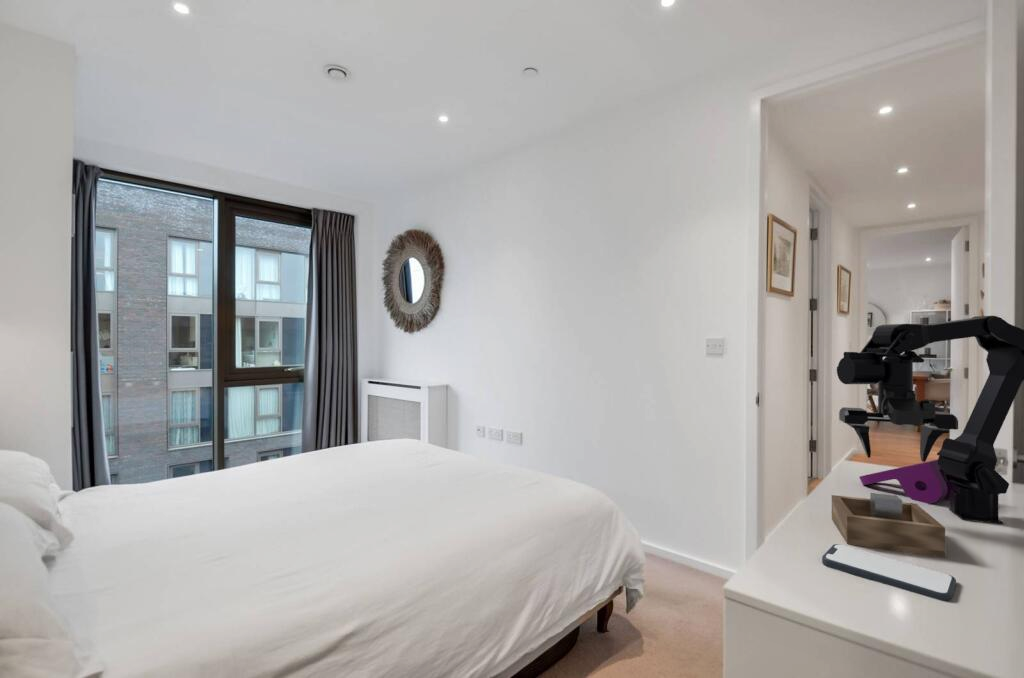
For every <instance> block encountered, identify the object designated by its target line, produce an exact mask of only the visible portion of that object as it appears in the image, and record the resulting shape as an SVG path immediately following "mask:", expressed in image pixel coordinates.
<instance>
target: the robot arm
mask: <svg viewBox="0 0 1024 678" xmlns="http://www.w3.org/2000/svg"><path fill="white" fill-rule="evenodd" d="M967 338H975V340H976V341H977V343H978V346H979V347H980V348H982V349H983V350H985V351H986V352H987V355H986V360H985V361H986V364H987V368H988V371H989V374H988V376H987V379H986V381H985V383H984V384H983V387H982V389H981V391H980V394H979V396H978V398H977V400H976V402H975V404H974V407H973V409H972V412H971V413H970V416H969V417H968V420H967V422H966V425H965V426H964V429H963V431H962V433H961V434H960V435H959V436H958V437H956V438H954V439H953V438H948V437H946V438H945V439H944V440H943V442H942V446H941V448H940V449H939V451H938V452H937V453H936V456H938V457H937V460H938V465H939V466H940V469H941V470H942V472H943V474H944V477H945V479H946V481H947V482H952V483H953V491H950V498H949V507H948V510H949V511H950V512H951V513H952V514H954V515H955V516H957V517H958V518H960V519H961V520H963V521H971V522H972V521H973V522H981V521H983V523H989V524H990V523H992V524H1002V525H1003V524H1004V521H1003V520H1002V519H1000V518H999V495H1003V494H1004V495H1005V494H1007V493H1008V492H1007V491H1008V489H1009V486H1010V483H1009V482H1008V481H1007V480H1006V479H1005V478H1004V477H1003V476H1002V475H1001V474H1000V473H999V472H998V471H996V467H997V463H998V458H997V454H996V451H995V447H994V444H995V442H996V441H997V438H998V436H999V433H1000V431H1001V429H1002V427H1003V424H1004V422H1005V420H1006V418H1007V416H1008V414H1009V412H1010V409H1011V407H1012V405H1013V403H1014V400H1015V399H1016V397H1017V394H1018V392H1019V389H1020V387H1021V386H1022V383H1023V382H1024V329H1022V328H1020V327H1017V326H1015V325H1013V324H1010V323H1009V322H1007V321H1006V320H1004V319H1003V318H1002V317H1000V316H997V315H979V316H973V317H970V318H963V319H955V320H947V321H942V322H935V323H928V324H927V323H925V324H922V323H921V324H920V323H893V324H889V323H888V324H881V325H878V326H877V327H875V329H874V331H873V333H872V336H871V337H870V339H869V340H868V342H867V343H866V344H865V345H864V347H863V348H862V349H861V351H860V352H857V351H844V352H843V357H842V358H841V359H840V360H839V362H838V364H837V366H836V374H837V377H838V380H839V381H840V382H841V383H842V384H843V385H877V387H876V393H877V406H876V412H875V411H873V412H871V411H867V410H865V409H863V408H861V407H843V406H842V407H841V409H839V412H838V413H839V415H838V417H839V418H838V419H839V420H840V421H841V422H842V423H844V424H846V425H847V426H850V428H853V430H854V431H855V433H856V434H857V436H858V438H859V440H860V443H861V445H862V448H863V450H864V452H865V455H866V457H867V458H868V459H869V458H871V454H872V453H871V452H872V450H871V441H870V435H869V433H870V426H869V425H867V423H868V422H883V423H884V422H886V423H888V422H889V423H892V424H894V425H897V426H902V425H912V426H914V427H920V438H919V440H920V443H919V455H920V461H921V463H924V462H927V459H928V457H929V455H930V452H931V451H932V448H933V447H934V445H935V443H936V442H937V440H938V438H940V437H941V436H942V435H943V434H949V433H950V430H959V420H958V417H957V416H955V415H954V414H952V413H949V412H946V411H936V403H935V402H934V400H928V399H927V400H926V399H925V400H920V401H918V400H917V399H916V393H915V390H914V383H913V382H914V369H913V368H914V365H913V364H916V363H917V364H919V363H920V364H921V363H924V362H925V359H924V358H922V357H921V356H920V355H918V353H916V352H915V350H919V349H921V348H924V347H926V346H928V345H931V344H932V343H937V342H944V341H952V340H960V339H967Z"/></svg>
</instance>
